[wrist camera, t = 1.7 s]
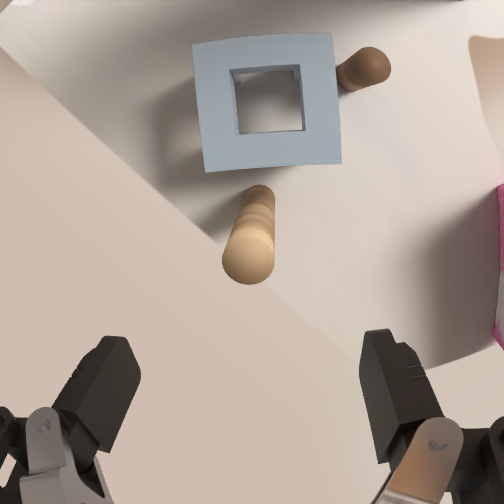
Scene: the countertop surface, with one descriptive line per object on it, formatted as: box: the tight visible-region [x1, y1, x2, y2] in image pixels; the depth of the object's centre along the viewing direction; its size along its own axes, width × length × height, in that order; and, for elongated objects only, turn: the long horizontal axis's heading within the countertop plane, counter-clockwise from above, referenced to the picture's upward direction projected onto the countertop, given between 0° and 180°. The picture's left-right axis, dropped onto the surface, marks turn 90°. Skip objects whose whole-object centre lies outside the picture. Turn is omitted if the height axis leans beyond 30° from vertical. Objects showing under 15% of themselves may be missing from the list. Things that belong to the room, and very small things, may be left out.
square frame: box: [192, 33, 342, 173], centre depth 19 cm, size 8×8×8 cm
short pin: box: [336, 47, 391, 91], centre depth 18 cm, size 3×3×6 cm
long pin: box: [222, 185, 275, 285], centre depth 20 cm, size 3×3×12 cm
